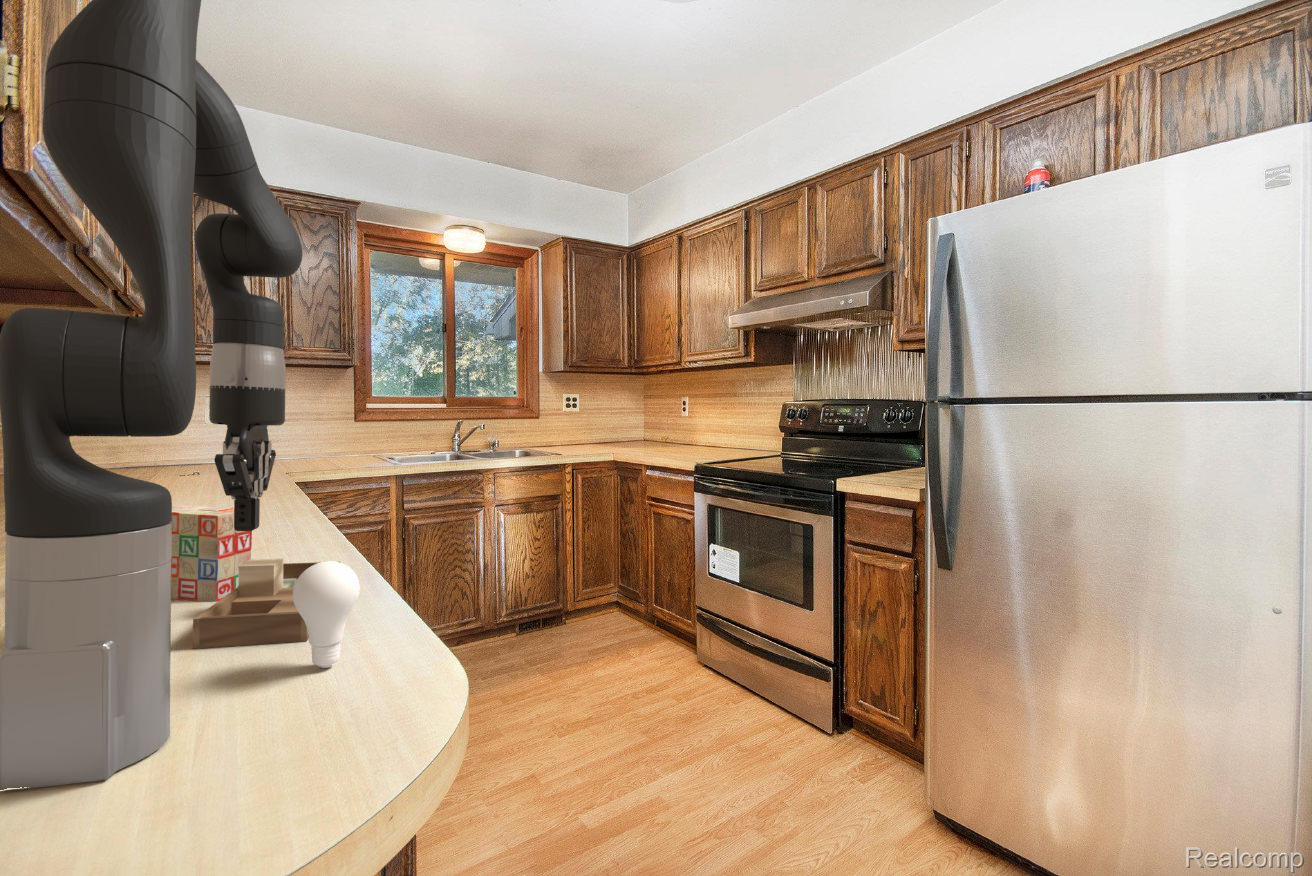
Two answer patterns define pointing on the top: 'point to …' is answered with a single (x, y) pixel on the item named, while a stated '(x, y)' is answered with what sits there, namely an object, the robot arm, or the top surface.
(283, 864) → the top surface
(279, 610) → the board
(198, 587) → the stack of blocks
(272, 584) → the beech block
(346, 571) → the lightbulb
